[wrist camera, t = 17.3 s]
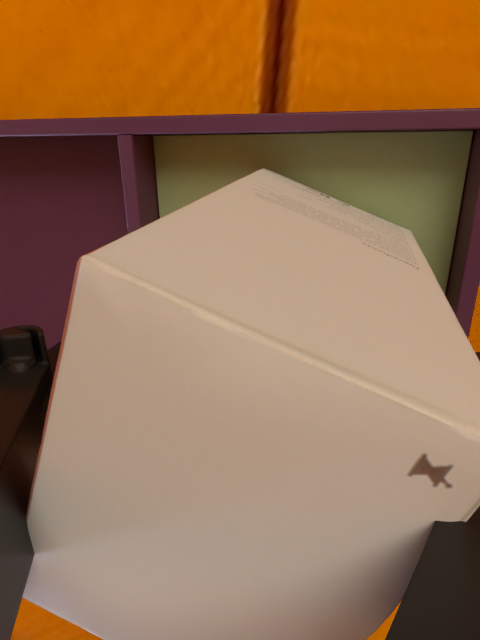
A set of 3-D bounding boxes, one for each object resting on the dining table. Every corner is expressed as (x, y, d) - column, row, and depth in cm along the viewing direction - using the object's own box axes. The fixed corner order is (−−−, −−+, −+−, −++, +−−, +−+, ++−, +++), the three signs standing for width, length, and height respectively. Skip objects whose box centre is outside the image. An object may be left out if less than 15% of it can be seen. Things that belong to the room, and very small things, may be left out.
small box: (261, 164, 17) (70, 240, 6) (415, 229, 17) (553, 455, 5) (197, 335, 21) (0, 599, 9) (323, 392, 20) (285, 741, 9)
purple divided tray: (-101, 124, 21) (-157, 123, 19) (491, 110, 16) (515, 107, 13) (-31, 367, 27) (-68, 390, 24) (434, 421, 21) (444, 458, 19)
